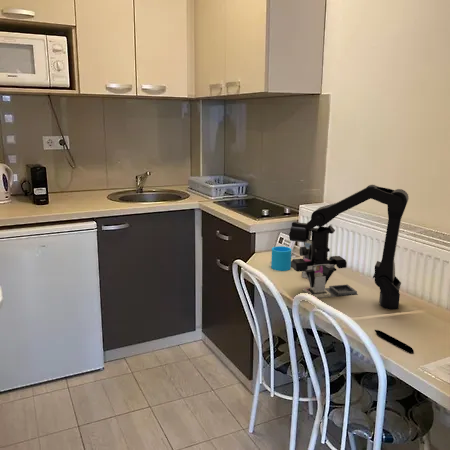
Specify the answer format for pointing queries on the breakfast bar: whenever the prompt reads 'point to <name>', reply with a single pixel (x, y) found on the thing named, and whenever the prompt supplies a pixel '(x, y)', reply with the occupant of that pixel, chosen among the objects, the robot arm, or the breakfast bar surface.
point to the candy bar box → (315, 268)
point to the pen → (394, 341)
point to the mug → (281, 258)
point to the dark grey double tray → (333, 291)
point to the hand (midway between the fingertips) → (317, 286)
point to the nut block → (318, 283)
